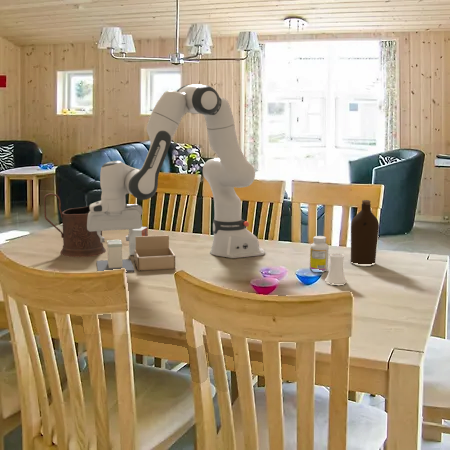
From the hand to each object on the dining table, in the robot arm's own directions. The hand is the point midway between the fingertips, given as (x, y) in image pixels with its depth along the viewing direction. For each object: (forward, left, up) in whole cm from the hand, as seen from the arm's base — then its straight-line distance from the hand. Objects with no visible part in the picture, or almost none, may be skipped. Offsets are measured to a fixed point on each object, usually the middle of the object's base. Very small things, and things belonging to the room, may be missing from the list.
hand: (115, 241), depth 228 cm
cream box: (0, 0, -9) cm, 9 cm away
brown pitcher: (+14, -27, -10) cm, 32 cm away
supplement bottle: (-74, +20, -10) cm, 77 cm away
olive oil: (-95, +14, -10) cm, 96 cm away
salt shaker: (-73, +36, -10) cm, 83 cm away
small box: (-11, -20, -10) cm, 25 cm away
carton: (-15, 0, -10) cm, 18 cm away
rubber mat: (0, 0, -10) cm, 10 cm away
